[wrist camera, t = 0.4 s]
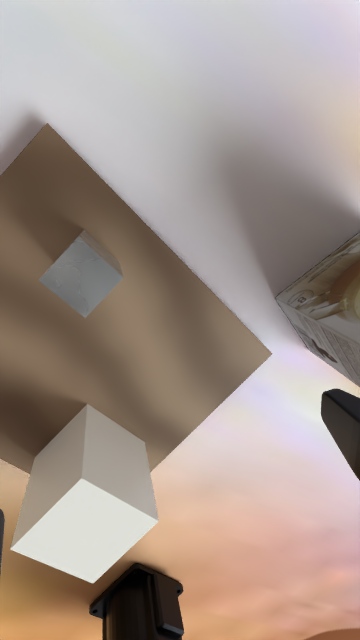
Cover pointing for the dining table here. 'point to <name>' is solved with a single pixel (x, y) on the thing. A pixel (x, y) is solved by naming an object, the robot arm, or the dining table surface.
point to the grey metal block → (83, 274)
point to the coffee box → (329, 309)
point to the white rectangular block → (86, 498)
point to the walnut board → (103, 318)
